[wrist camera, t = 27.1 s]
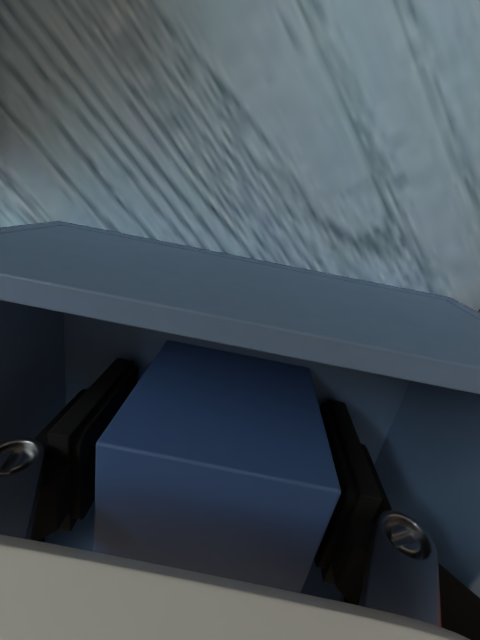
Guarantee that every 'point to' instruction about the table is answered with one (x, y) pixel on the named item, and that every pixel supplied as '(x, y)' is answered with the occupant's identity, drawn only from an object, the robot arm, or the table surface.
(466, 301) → the table surface
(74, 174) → the table surface
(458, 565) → the blue bin
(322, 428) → the blue block
